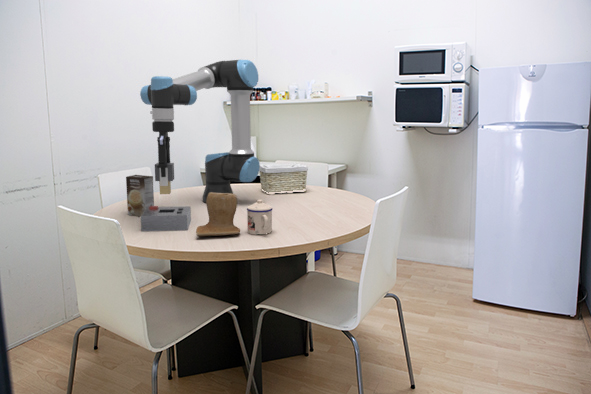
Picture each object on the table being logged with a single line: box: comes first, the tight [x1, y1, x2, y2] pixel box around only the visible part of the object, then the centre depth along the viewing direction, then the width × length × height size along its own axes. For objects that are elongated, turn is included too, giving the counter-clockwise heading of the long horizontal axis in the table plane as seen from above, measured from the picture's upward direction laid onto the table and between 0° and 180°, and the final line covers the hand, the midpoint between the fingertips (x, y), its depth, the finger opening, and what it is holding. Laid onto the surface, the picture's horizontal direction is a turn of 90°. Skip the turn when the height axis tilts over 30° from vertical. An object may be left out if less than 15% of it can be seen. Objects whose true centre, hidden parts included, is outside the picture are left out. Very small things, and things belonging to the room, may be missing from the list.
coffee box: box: [125, 174, 155, 217], centre depth 186 cm, size 9×6×16 cm
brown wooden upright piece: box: [195, 192, 241, 237], centre depth 157 cm, size 15×12×15 cm
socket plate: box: [140, 205, 192, 232], centre depth 170 cm, size 16×16×6 cm
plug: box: [154, 162, 175, 195], centre depth 167 cm, size 6×6×11 cm
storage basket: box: [259, 162, 309, 193], centre depth 245 cm, size 24×16×15 cm
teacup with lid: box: [246, 199, 273, 235], centre depth 160 cm, size 12×9×12 cm
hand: (165, 184), depth 167 cm, fingers closed on plug, 6 cm apart
